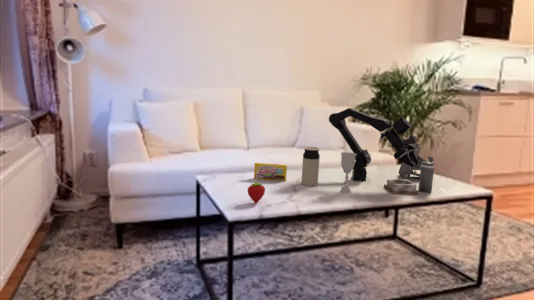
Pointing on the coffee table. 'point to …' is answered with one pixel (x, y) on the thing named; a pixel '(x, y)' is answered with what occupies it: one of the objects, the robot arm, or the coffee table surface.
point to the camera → (408, 170)
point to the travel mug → (310, 166)
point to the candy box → (270, 171)
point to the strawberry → (256, 191)
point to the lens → (426, 177)
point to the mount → (401, 186)
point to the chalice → (347, 168)
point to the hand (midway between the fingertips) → (415, 165)
